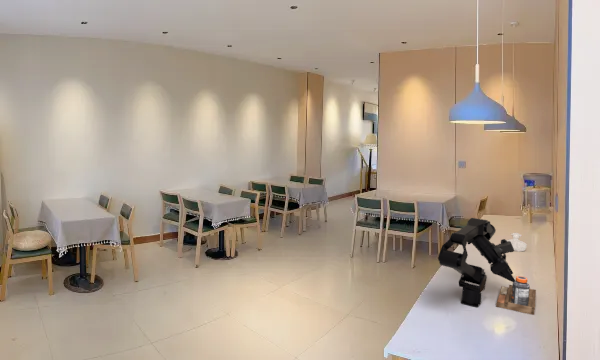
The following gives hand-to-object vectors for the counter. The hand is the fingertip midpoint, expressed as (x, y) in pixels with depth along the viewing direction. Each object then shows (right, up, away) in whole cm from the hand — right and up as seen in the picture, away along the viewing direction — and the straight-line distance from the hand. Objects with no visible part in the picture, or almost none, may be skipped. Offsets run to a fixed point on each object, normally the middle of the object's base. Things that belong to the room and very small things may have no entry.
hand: (513, 277), depth 156 cm
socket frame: (+5, -11, +6) cm, 14 cm away
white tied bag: (+44, -4, +80) cm, 92 cm away
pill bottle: (+3, -11, +1) cm, 12 cm away
